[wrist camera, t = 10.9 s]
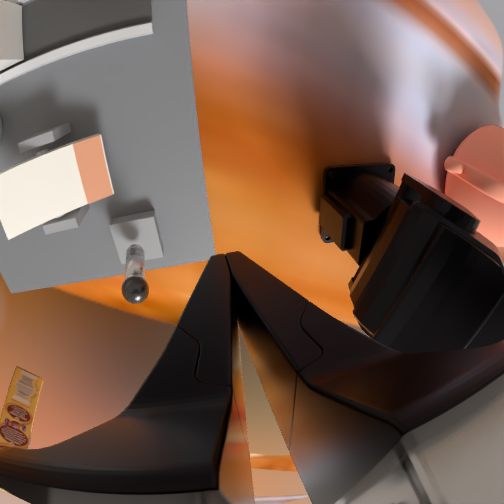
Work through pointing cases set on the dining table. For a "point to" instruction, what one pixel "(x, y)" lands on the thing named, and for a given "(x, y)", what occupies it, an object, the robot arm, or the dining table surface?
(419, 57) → the dining table surface
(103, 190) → the rocker switch
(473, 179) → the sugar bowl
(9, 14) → the slide paddle
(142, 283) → the toggle lever
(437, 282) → the robot arm
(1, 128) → the push button
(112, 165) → the switch panel
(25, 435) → the candy box
